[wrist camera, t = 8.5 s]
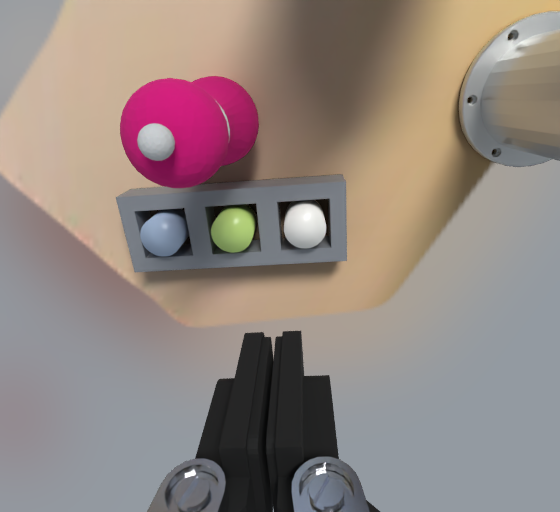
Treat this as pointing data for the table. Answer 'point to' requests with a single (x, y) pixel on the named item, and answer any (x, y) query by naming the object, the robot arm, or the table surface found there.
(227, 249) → the lime button
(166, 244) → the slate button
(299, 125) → the table surface
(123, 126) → the pepper mill
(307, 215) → the white rounded piece
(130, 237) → the panel
